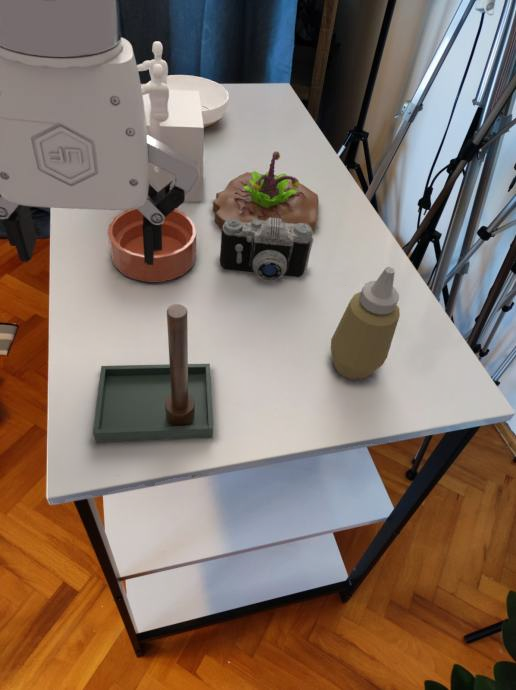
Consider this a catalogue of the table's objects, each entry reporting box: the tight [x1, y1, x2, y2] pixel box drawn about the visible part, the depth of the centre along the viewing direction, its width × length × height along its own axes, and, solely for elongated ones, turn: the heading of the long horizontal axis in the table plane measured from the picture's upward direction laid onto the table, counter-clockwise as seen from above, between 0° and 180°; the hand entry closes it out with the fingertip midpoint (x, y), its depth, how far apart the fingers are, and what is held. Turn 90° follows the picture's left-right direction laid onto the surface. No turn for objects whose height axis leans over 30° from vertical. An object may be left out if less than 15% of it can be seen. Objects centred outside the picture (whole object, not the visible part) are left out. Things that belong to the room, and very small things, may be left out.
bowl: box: [146, 74, 230, 128], centre depth 114 cm, size 20×20×6 cm
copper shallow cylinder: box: [107, 208, 197, 283], centre depth 81 cm, size 14×14×6 cm
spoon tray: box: [92, 363, 214, 443], centre depth 63 cm, size 14×10×2 cm
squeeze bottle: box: [330, 266, 401, 381], centre depth 65 cm, size 8×8×18 cm
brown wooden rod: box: [165, 303, 195, 426], centre depth 55 cm, size 4×4×19 cm
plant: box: [212, 151, 319, 232], centre depth 91 cm, size 20×20×11 cm
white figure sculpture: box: [137, 40, 205, 203], centre depth 88 cm, size 15×18×25 cm
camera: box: [219, 217, 314, 282], centre depth 79 cm, size 15×7×10 cm, turn 88°
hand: (90, 252), depth 41 cm, fingers open, 9 cm apart
